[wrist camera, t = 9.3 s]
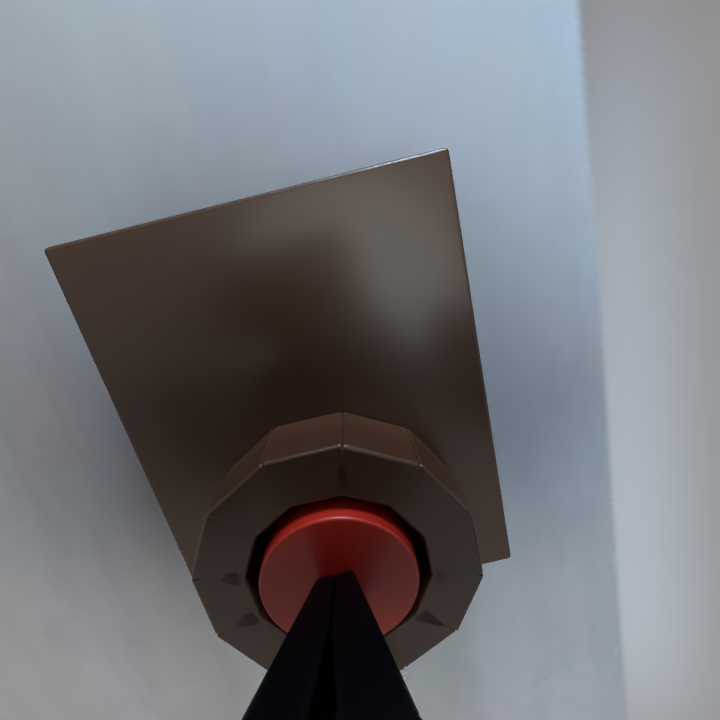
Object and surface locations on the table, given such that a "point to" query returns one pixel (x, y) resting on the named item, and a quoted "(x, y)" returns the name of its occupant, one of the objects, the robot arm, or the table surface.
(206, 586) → the switch block
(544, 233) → the table surface
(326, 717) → the robot arm
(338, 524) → the red button
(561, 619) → the table surface
